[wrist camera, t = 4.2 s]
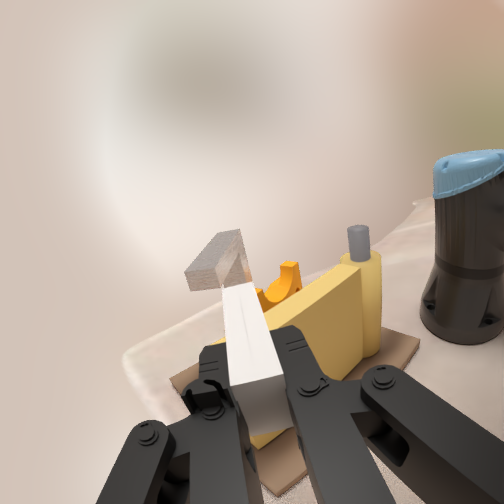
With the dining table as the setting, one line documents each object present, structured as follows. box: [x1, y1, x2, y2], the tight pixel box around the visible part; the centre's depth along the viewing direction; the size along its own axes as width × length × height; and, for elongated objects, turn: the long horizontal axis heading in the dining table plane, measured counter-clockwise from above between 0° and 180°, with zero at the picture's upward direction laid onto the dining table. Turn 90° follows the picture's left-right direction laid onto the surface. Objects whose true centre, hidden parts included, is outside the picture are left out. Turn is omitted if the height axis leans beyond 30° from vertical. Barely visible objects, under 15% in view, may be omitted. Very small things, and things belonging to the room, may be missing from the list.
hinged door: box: [211, 225, 382, 450], centre depth 25 cm, size 20×4×15 cm, turn 128°
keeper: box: [184, 229, 252, 291], centre depth 33 cm, size 12×3×17 cm, turn 172°
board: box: [169, 327, 420, 497], centre depth 32 cm, size 22×25×1 cm
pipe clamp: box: [255, 261, 302, 313], centre depth 47 cm, size 12×4×6 cm, turn 139°
